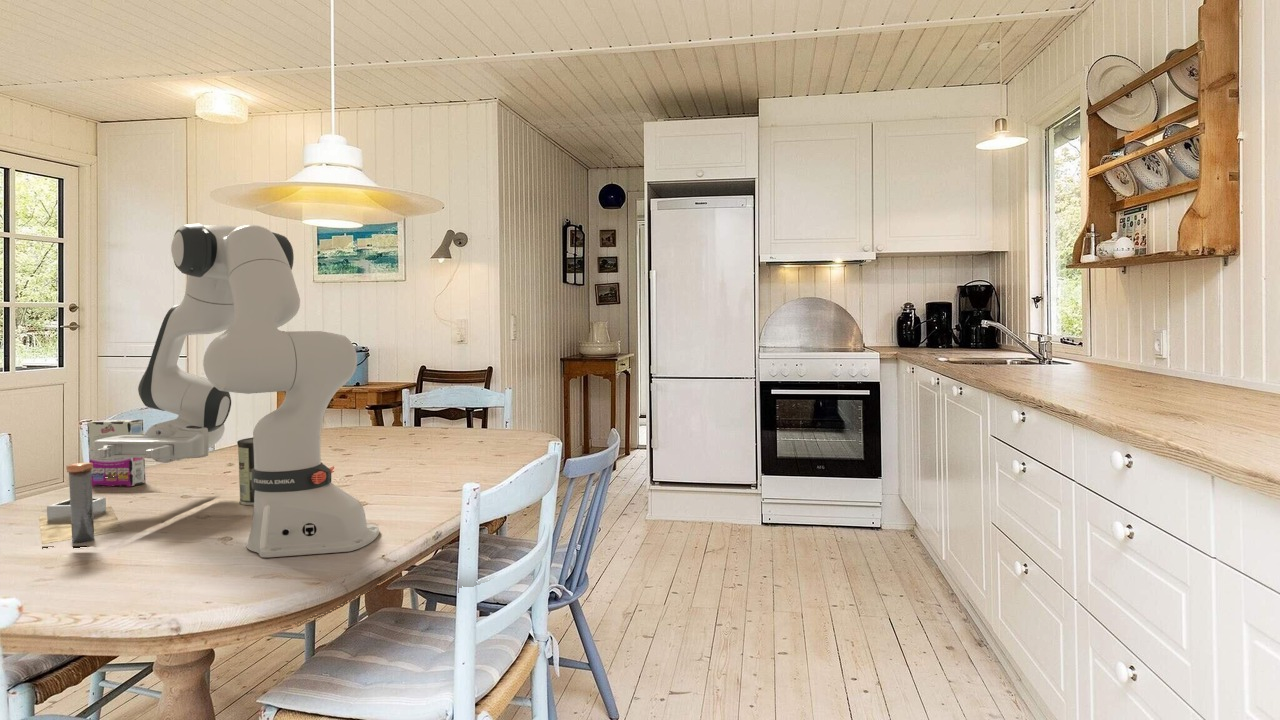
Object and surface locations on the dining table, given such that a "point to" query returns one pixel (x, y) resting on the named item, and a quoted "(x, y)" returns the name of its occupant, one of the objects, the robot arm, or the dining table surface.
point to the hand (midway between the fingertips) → (125, 454)
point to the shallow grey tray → (63, 509)
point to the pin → (81, 502)
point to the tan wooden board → (63, 529)
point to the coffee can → (246, 470)
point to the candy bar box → (121, 468)
